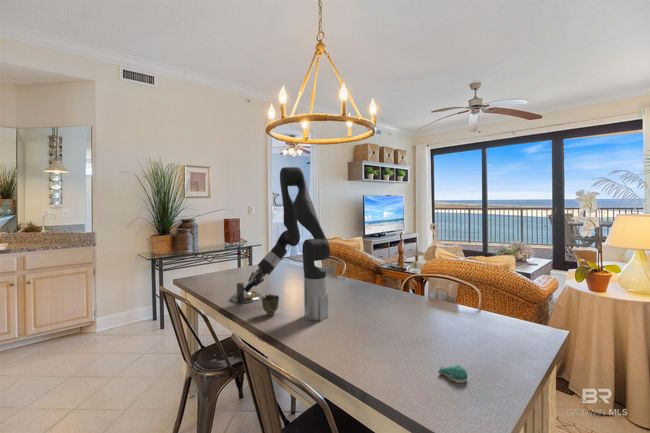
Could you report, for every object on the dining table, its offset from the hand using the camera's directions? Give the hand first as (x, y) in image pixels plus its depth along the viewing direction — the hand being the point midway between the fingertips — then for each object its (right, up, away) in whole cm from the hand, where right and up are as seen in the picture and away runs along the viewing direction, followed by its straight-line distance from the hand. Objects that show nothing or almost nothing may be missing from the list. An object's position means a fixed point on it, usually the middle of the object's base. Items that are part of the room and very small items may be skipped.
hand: (245, 291), depth 148 cm
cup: (+14, -7, -14) cm, 21 cm away
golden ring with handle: (-2, -5, +6) cm, 8 cm away
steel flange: (-2, -6, +9) cm, 11 cm away
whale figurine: (+73, -9, -62) cm, 97 cm away
